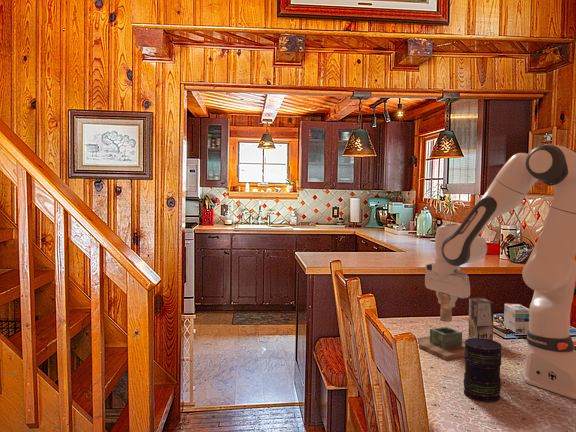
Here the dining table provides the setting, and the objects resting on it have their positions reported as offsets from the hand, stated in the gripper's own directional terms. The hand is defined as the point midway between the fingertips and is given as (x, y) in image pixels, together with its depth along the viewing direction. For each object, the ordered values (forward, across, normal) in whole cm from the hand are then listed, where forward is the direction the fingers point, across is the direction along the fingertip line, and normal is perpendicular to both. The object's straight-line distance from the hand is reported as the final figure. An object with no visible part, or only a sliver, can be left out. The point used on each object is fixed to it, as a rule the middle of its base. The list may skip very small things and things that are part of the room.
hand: (446, 305), depth 176 cm
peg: (+6, 0, 0) cm, 6 cm away
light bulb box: (+16, +4, -41) cm, 44 cm away
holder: (+16, 0, 0) cm, 16 cm away
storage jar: (+16, -36, +19) cm, 44 cm away
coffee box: (+16, +1, -18) cm, 24 cm away
